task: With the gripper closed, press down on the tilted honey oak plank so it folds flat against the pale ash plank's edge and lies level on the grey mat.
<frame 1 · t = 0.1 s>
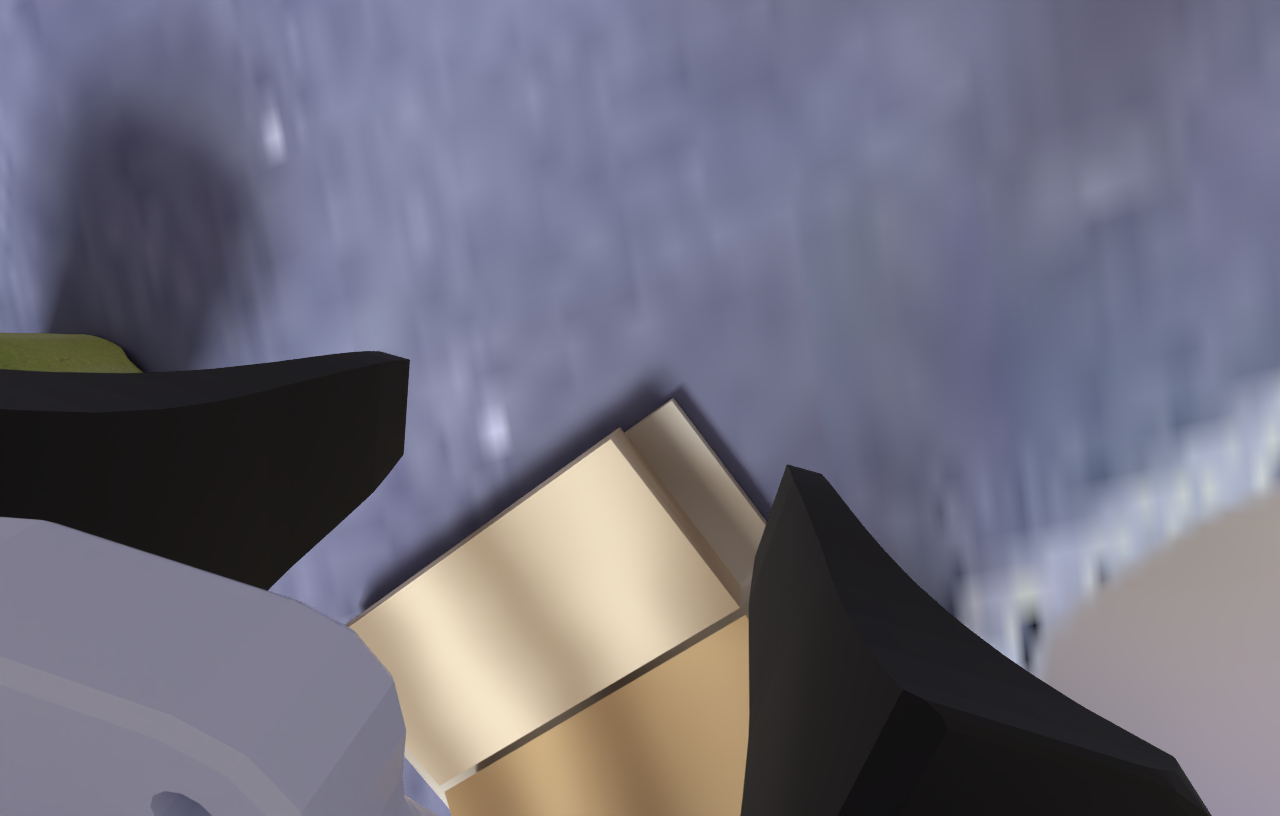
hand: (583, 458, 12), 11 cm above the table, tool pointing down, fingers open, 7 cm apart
plant pot: (105, 408, 26), on the table
floor section: (642, 733, 25), on the table
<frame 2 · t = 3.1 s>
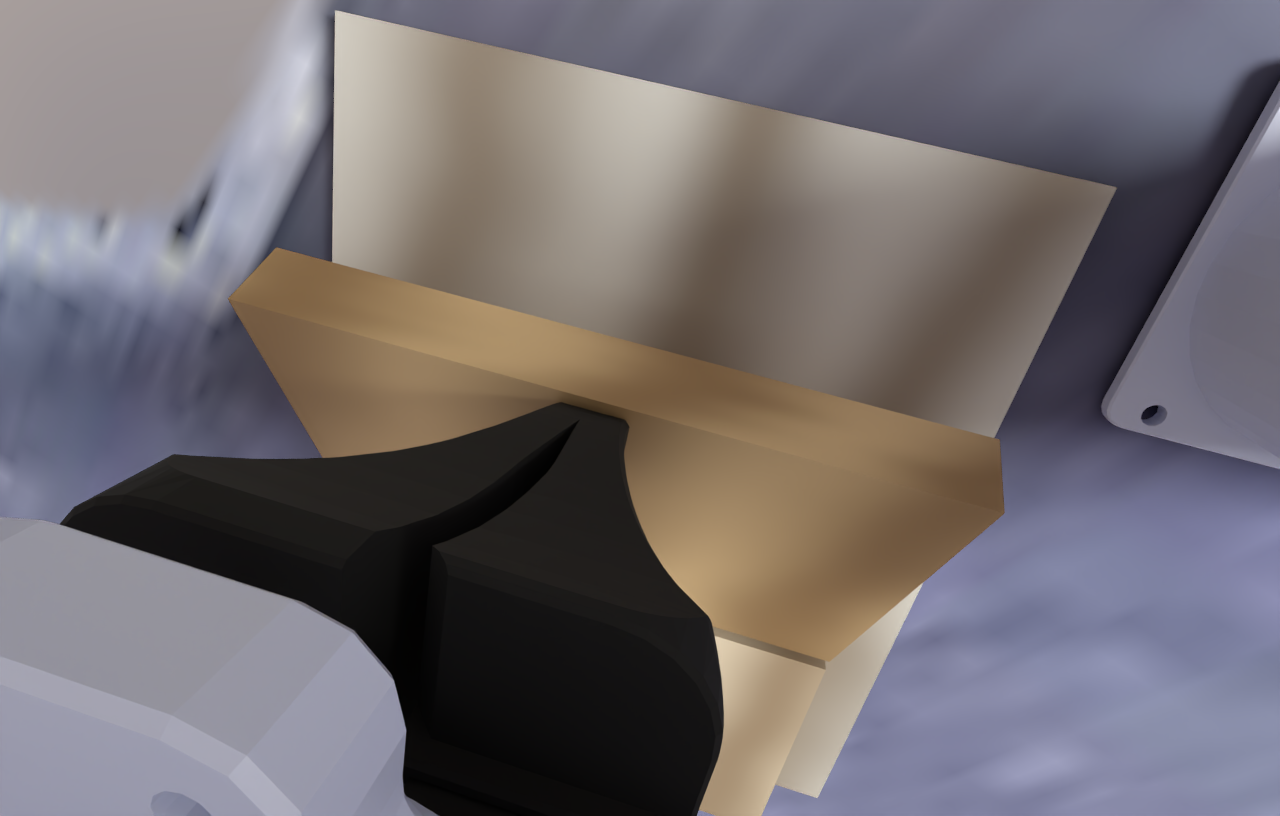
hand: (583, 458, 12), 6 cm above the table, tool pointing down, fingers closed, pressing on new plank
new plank: (598, 489, 15), point 4 cm above the table, hinge at 30.0°, touching gripper
floor section: (622, 464, 19), on the table
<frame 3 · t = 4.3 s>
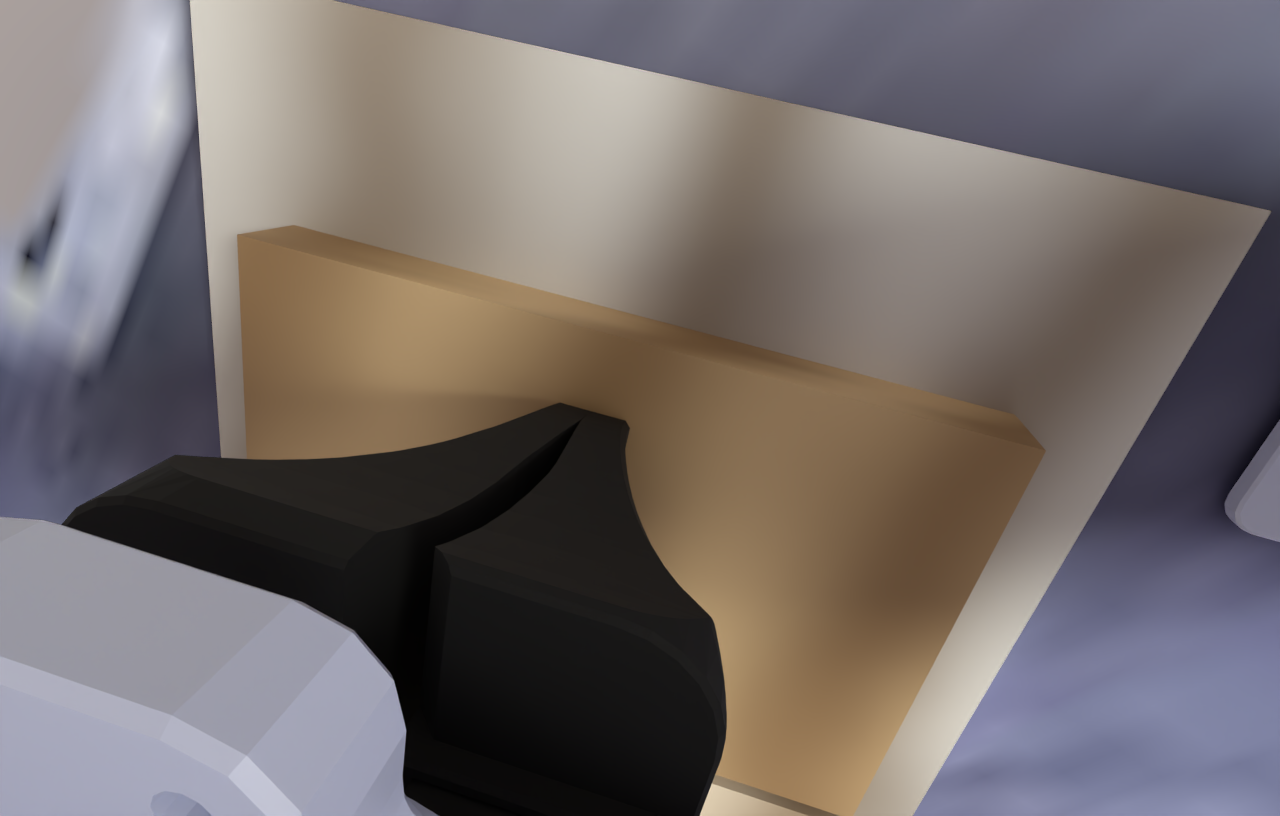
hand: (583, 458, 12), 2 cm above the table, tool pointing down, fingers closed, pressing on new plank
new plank: (582, 532, 13), point 1 cm above the table, hinge at -0.4°, touching floor section, gripper
floor section: (586, 554, 15), on the table
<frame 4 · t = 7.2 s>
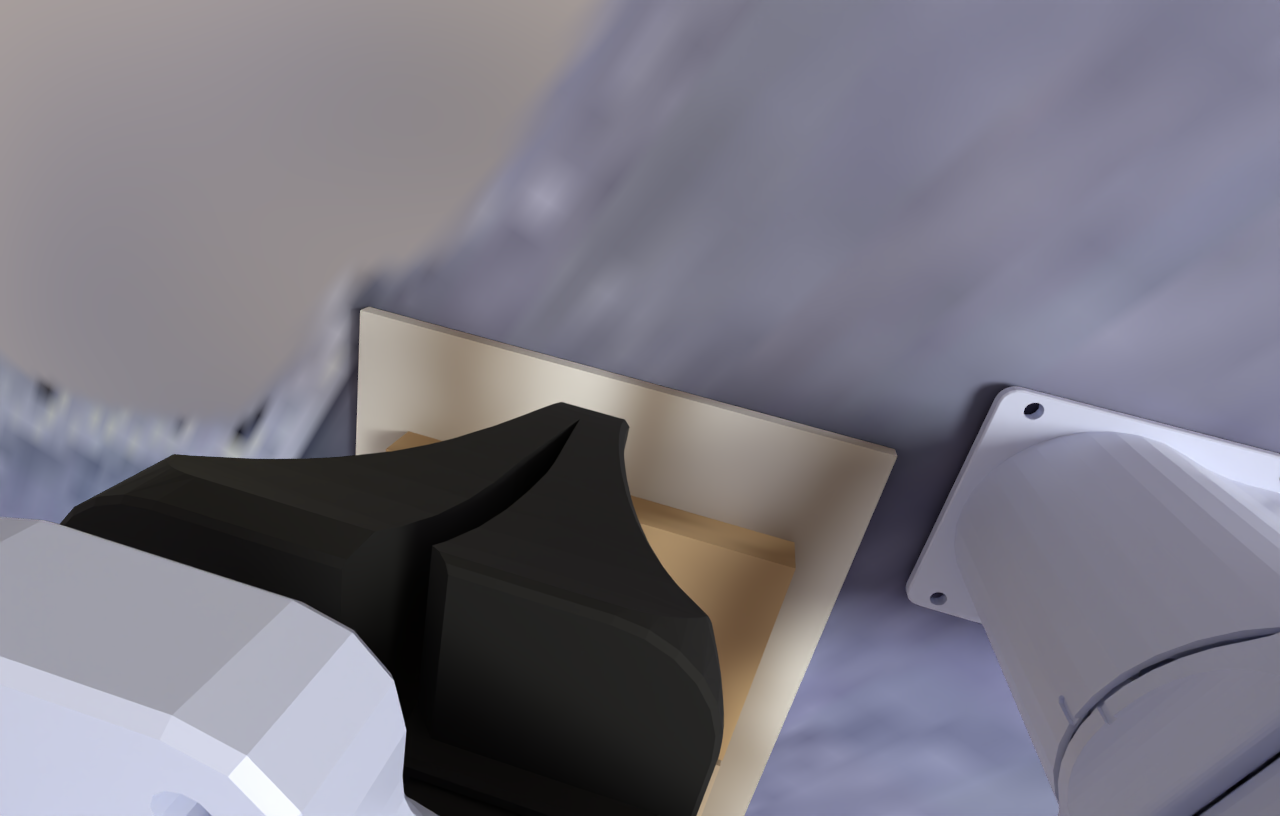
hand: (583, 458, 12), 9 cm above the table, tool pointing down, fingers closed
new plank: (568, 599, 24), point 1 cm above the table, hinge at -0.4°, touching floor section
floor section: (572, 607, 26), on the table
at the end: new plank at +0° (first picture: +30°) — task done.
